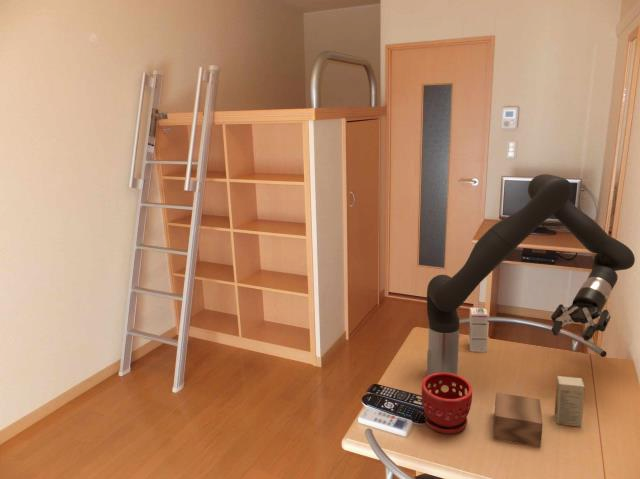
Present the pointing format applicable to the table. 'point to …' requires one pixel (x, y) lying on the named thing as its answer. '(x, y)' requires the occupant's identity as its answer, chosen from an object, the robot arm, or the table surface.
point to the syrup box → (478, 329)
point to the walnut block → (518, 419)
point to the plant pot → (446, 402)
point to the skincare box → (569, 401)
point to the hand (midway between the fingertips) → (569, 336)
